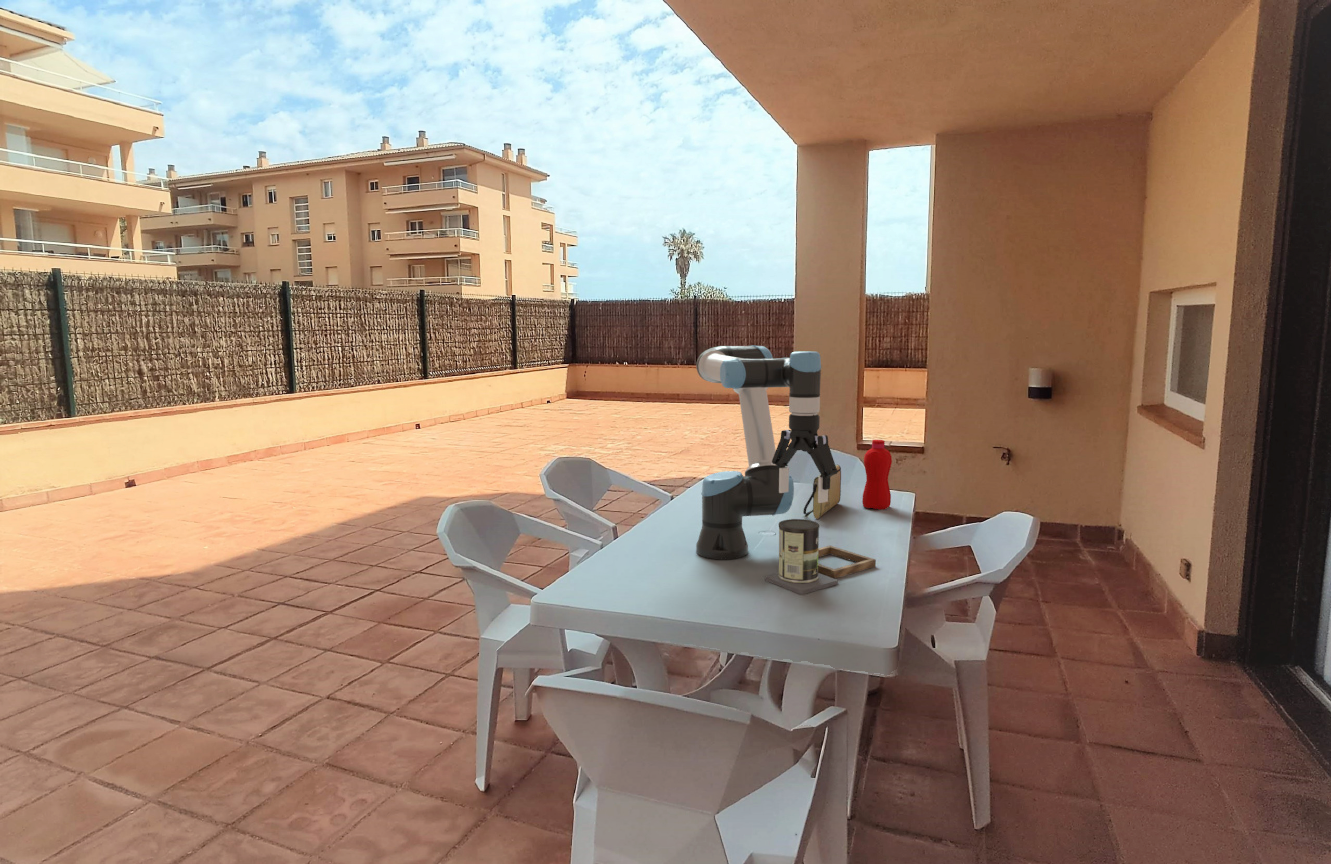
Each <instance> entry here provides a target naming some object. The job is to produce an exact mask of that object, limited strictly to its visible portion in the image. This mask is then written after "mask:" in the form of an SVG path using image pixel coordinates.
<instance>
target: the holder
mask: <svg viewBox="0 0 1331 864" xmlns="http://www.w3.org/2000/svg"><path fill="white" fill-rule="evenodd" d="M827 554H828V555H832V554H833V555H832V556H835V555H836V556H835V557H838V556H839V558H841V557H843V558H842V559H845V558H846V559H845V560H848V559H850V560H849V561H851V560H853V561H852V562H853V563H851V564H848V565H844V566H840V567H837V568H832V567H829V566H826V565H823V564H820V563H818V573H819V574H822V575H825V576H828V577H831V578H834V579H838V578H841V577H845V576H848V575H850V574H851V573H852V574H855V573H858V571H859V572H861V570H862V571H865V570H864V569H866V570H869V569H872V568H876V561H877V560H876V559H875V558H872V557H869V556H865V555H862V554H859V553H856V552H852V551H849V550H846V549H842V548H839V547H836V546H832V545H826V546H824V547H818V558H819V556H820V557H824V556H828V555H827ZM823 555H824V556H823ZM854 561H856V562H854ZM857 562H858V563H857ZM868 568H869V569H868ZM852 574H851V575H852Z"/></svg>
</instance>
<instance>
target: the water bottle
mask: <svg viewBox="0 0 1331 864" xmlns="http://www.w3.org/2000/svg"><path fill="white" fill-rule="evenodd" d="M863 457H864V458H863V465H864V469H865V476H866V480H865V481H866V482H865V485H864V488H863V493H862V502H861V503H862V507H864V508H865V507H866V509H869V508H873V509H872V510H877V509H878V510H879V511H884V510H886V509H888V508H890V506H891V502H892V494H891V489H890V485H889V475H890V470H891V468H892V464H893V459H892V458H893V457H892V454H891V452H890V451H889V450H888V449H886V448H885V440H883V439H872V442H871V448H870V449H868V450H867V451H866V453H865V454H864V456H863ZM878 510H877V511H878Z"/></svg>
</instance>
